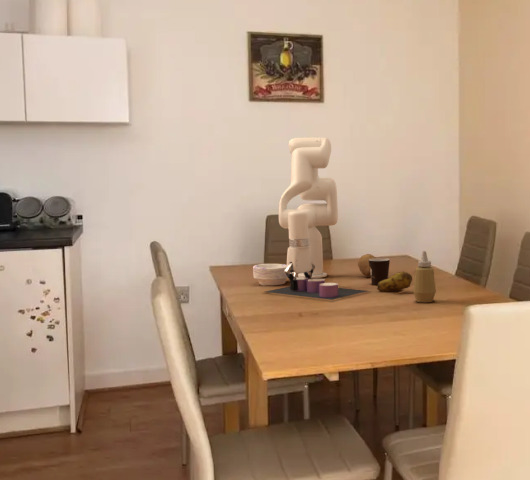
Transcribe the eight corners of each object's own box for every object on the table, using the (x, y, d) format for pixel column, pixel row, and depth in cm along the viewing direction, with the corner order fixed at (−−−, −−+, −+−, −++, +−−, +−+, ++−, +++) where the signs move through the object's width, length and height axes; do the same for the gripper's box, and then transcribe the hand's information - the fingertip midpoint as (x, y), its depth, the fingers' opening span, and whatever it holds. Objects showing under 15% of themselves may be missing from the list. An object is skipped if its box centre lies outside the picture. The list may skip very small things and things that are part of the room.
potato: (382, 290, 303) (382, 269, 301) (414, 291, 299) (414, 270, 297) (375, 293, 295) (375, 272, 293) (408, 295, 291) (407, 273, 289)
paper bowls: (298, 284, 320) (297, 264, 318) (269, 288, 309) (268, 269, 308) (275, 280, 330) (274, 262, 328) (246, 285, 319) (245, 265, 318)
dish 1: (287, 290, 302) (287, 278, 301) (300, 287, 308) (299, 276, 307) (301, 291, 298) (301, 280, 297) (314, 289, 304) (313, 277, 303)
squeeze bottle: (421, 298, 283) (420, 249, 279) (440, 300, 278) (440, 250, 274) (409, 302, 276) (408, 251, 272) (428, 304, 272) (427, 253, 268)
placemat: (264, 293, 300) (264, 291, 299) (302, 285, 317) (302, 283, 317) (331, 301, 280) (331, 299, 280) (368, 292, 298) (368, 290, 298)
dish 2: (315, 296, 287) (314, 284, 286) (327, 293, 293) (327, 282, 292) (330, 298, 283) (329, 286, 282) (342, 295, 289) (342, 283, 288)
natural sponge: (369, 274, 343) (369, 252, 341) (383, 276, 337) (383, 253, 335) (354, 277, 337) (353, 254, 335) (368, 279, 331) (367, 255, 328)
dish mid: (302, 291, 298) (302, 280, 297) (315, 289, 303) (314, 277, 302) (317, 293, 294) (316, 281, 293) (329, 290, 299) (328, 279, 298)
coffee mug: (387, 285, 312) (387, 261, 310) (367, 285, 314) (366, 260, 312) (393, 281, 323) (393, 257, 321) (373, 281, 325) (373, 257, 323)
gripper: (306, 240, 308) (308, 284, 312) (276, 245, 294) (278, 291, 298) (321, 241, 304) (322, 286, 308) (290, 246, 290) (292, 292, 294)
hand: (300, 288), depth 303 cm, fingers closed on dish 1, 7 cm apart
